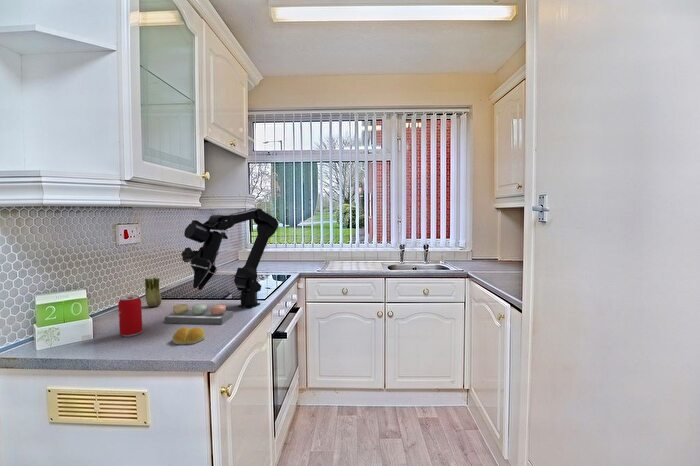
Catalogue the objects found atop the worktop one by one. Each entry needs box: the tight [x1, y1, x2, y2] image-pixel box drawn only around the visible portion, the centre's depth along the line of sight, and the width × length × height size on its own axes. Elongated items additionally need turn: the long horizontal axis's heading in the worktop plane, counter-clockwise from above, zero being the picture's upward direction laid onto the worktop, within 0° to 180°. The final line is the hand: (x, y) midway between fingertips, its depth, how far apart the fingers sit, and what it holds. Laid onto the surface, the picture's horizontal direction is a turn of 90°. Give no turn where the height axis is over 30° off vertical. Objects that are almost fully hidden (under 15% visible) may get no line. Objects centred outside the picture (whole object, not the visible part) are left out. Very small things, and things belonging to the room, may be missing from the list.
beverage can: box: [117, 294, 143, 338], centre depth 114 cm, size 6×6×12 cm
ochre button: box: [172, 303, 189, 313], centre depth 129 cm, size 5×5×2 cm
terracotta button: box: [210, 304, 227, 314], centre depth 128 cm, size 5×5×2 cm
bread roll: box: [171, 327, 206, 345], centre depth 109 cm, size 8×9×4 cm
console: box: [163, 309, 234, 325], centre depth 129 cm, size 9×21×2 cm, turn 85°
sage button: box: [191, 303, 208, 314], centre depth 129 cm, size 5×5×2 cm
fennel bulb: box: [144, 277, 162, 308], centre depth 146 cm, size 6×5×12 cm
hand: (197, 289), depth 126 cm, fingers open, 9 cm apart
